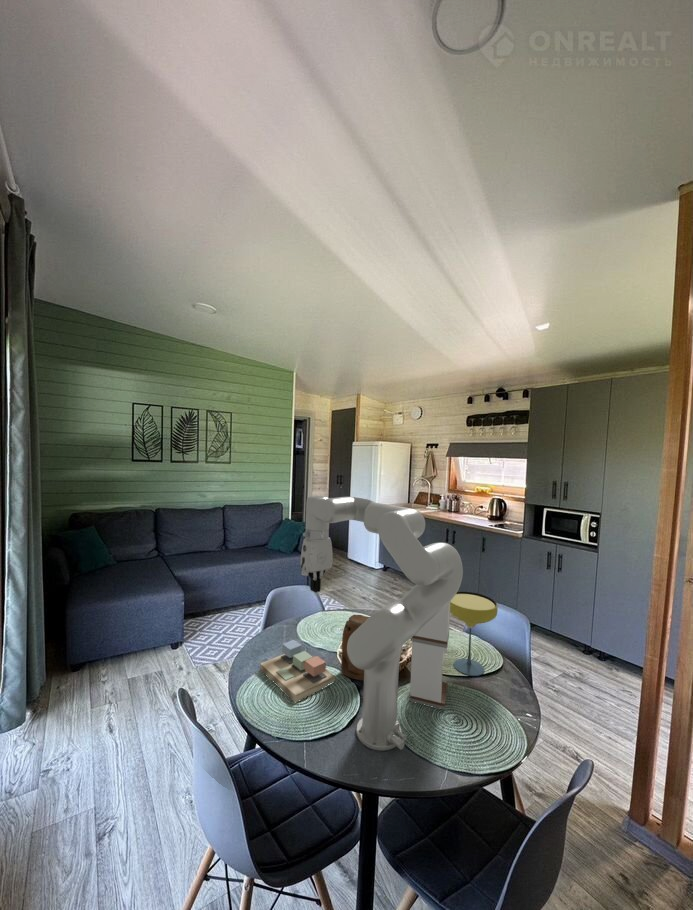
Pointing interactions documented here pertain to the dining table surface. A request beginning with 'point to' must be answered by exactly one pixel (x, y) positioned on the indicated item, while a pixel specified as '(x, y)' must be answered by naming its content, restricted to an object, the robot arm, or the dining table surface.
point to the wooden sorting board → (294, 677)
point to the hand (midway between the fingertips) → (315, 590)
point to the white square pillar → (430, 661)
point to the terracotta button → (315, 666)
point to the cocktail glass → (472, 623)
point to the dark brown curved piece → (346, 664)
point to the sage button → (301, 659)
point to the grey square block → (291, 648)
